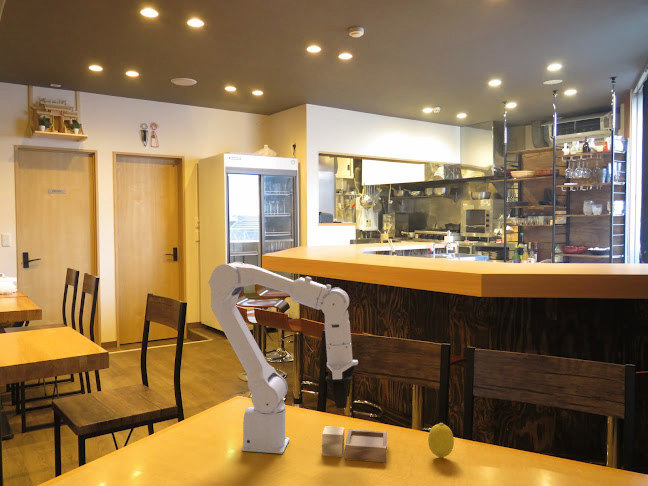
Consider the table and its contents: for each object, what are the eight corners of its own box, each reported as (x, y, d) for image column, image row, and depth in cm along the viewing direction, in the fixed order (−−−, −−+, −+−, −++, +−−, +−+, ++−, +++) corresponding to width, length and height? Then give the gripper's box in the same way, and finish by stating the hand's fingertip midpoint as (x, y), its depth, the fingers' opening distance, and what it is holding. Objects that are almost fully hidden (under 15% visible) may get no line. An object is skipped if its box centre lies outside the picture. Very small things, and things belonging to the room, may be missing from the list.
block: (322, 455, 117) (322, 433, 117) (324, 447, 122) (325, 425, 122) (342, 457, 117) (342, 435, 116) (344, 448, 121) (344, 427, 121)
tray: (344, 459, 115) (345, 445, 115) (348, 442, 124) (348, 429, 124) (386, 462, 114) (386, 447, 114) (386, 445, 123) (386, 431, 123)
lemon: (453, 465, 113) (454, 428, 113) (427, 462, 114) (428, 426, 114) (452, 454, 119) (453, 419, 118) (427, 451, 120) (428, 417, 119)
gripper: (353, 349, 110) (358, 412, 111) (358, 334, 125) (362, 391, 125) (320, 350, 111) (325, 413, 112) (329, 336, 126) (333, 392, 126)
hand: (343, 401), depth 118 cm, fingers open, 7 cm apart
